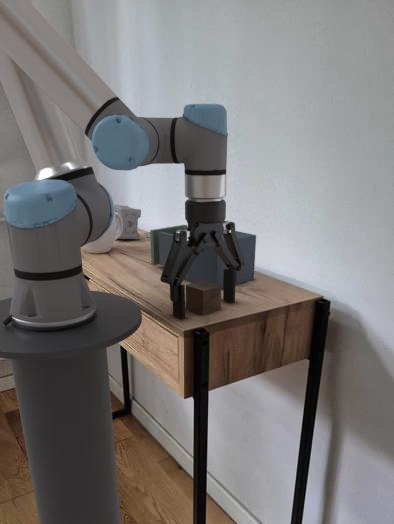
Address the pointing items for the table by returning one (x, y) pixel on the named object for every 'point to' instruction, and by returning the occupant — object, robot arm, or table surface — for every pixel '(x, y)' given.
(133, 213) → the incense holder
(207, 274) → the cabinet
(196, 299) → the block
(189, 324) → the table surface
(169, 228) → the drawer
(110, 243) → the mug
